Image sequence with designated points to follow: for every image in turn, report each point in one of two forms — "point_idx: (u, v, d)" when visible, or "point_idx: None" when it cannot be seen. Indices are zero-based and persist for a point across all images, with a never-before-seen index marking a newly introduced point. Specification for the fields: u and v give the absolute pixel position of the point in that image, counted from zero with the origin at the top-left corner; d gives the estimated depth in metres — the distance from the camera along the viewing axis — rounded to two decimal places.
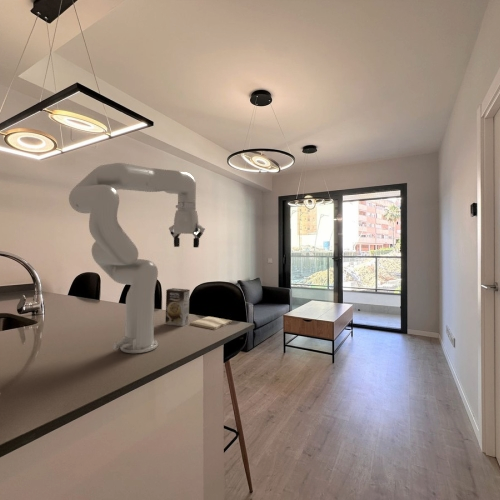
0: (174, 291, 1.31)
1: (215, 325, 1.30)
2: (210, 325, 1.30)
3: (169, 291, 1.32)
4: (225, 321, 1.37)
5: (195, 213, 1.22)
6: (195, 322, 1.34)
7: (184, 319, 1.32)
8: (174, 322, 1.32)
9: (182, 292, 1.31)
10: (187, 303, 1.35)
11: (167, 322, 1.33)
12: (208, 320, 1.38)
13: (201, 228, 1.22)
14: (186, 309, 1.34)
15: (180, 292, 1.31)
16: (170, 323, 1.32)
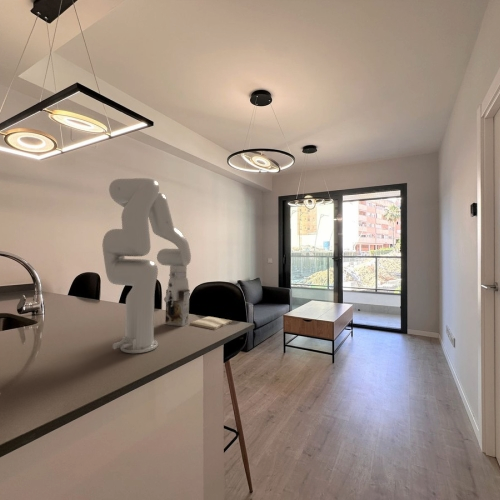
0: None
1: (215, 325, 1.30)
2: (210, 325, 1.30)
3: None
4: (225, 321, 1.37)
5: None
6: (195, 322, 1.34)
7: (184, 319, 1.32)
8: (174, 322, 1.32)
9: (182, 292, 1.31)
10: (187, 303, 1.35)
11: (167, 322, 1.33)
12: (208, 320, 1.38)
13: (189, 294, 1.41)
14: (186, 309, 1.34)
15: (180, 292, 1.31)
16: (170, 323, 1.32)
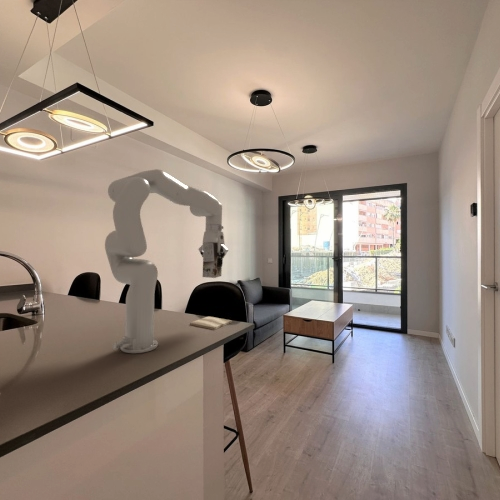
0: None
1: (215, 325, 1.30)
2: (210, 325, 1.30)
3: None
4: (225, 321, 1.37)
5: None
6: (195, 322, 1.34)
7: None
8: (218, 273, 1.35)
9: None
10: None
11: (215, 275, 1.32)
12: (208, 320, 1.38)
13: None
14: None
15: None
16: (217, 275, 1.33)
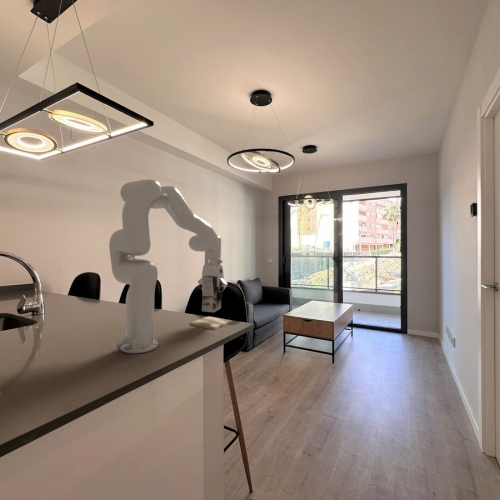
0: None
1: (215, 325, 1.30)
2: (210, 325, 1.30)
3: None
4: (225, 321, 1.37)
5: None
6: (195, 322, 1.34)
7: None
8: (218, 307, 1.36)
9: None
10: None
11: (215, 309, 1.32)
12: (208, 320, 1.38)
13: None
14: None
15: None
16: (216, 309, 1.34)
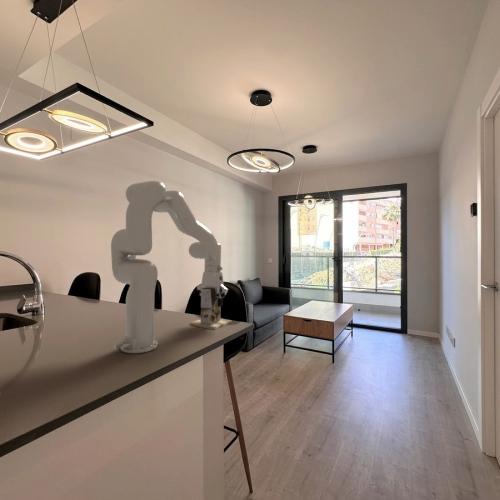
0: None
1: (215, 325, 1.30)
2: (210, 325, 1.30)
3: None
4: (225, 321, 1.37)
5: None
6: (195, 322, 1.34)
7: None
8: (217, 318, 1.35)
9: None
10: None
11: (213, 321, 1.32)
12: None
13: None
14: None
15: None
16: (215, 321, 1.33)
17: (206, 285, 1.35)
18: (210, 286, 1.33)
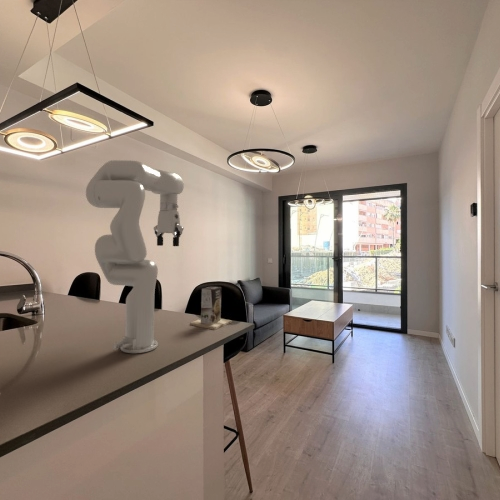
0: (217, 289, 1.35)
1: (215, 325, 1.30)
2: (210, 325, 1.30)
3: (215, 290, 1.32)
4: (225, 321, 1.37)
5: None
6: (195, 322, 1.34)
7: None
8: (217, 319, 1.35)
9: None
10: None
11: (213, 321, 1.32)
12: None
13: None
14: None
15: (220, 288, 1.38)
16: (215, 321, 1.33)
17: (161, 224, 1.29)
18: (165, 225, 1.28)
